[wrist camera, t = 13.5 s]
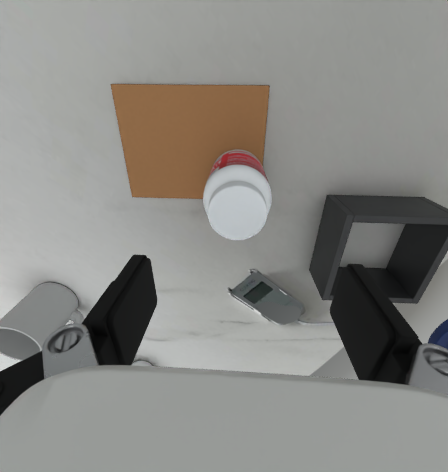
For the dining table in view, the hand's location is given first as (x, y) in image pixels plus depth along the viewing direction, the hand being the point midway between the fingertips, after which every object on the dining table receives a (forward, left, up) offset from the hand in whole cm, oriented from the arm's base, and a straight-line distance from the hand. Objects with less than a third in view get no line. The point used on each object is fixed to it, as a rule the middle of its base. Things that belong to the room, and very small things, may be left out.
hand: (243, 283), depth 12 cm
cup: (+28, +22, -19) cm, 41 cm away
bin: (-17, +8, -19) cm, 26 cm away
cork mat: (+5, -3, -19) cm, 20 cm away
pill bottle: (0, 0, -19) cm, 19 cm away
